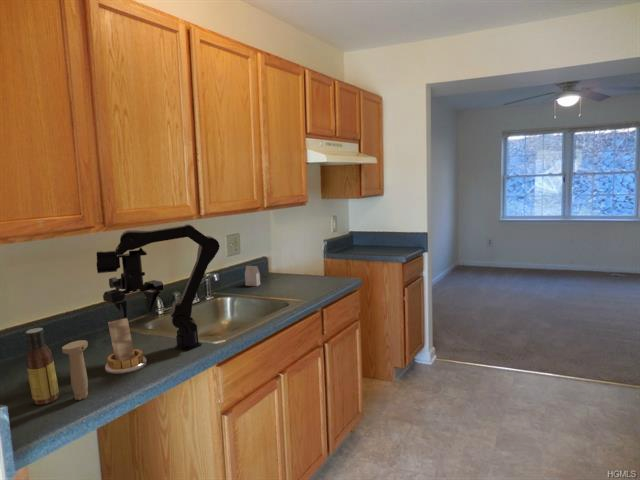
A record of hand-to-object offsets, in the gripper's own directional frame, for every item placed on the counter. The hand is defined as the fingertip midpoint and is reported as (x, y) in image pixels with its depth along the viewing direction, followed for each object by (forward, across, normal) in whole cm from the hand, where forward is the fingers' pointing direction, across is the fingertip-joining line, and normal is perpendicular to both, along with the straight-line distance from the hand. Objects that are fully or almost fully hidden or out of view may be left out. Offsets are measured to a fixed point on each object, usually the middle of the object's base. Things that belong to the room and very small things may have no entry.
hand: (137, 316), depth 155 cm
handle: (+13, +27, +13) cm, 33 cm away
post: (+12, +8, +4) cm, 15 cm away
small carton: (+13, -89, -34) cm, 96 cm away
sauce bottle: (+14, +33, +6) cm, 36 cm away
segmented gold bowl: (+13, +8, +4) cm, 16 cm away
